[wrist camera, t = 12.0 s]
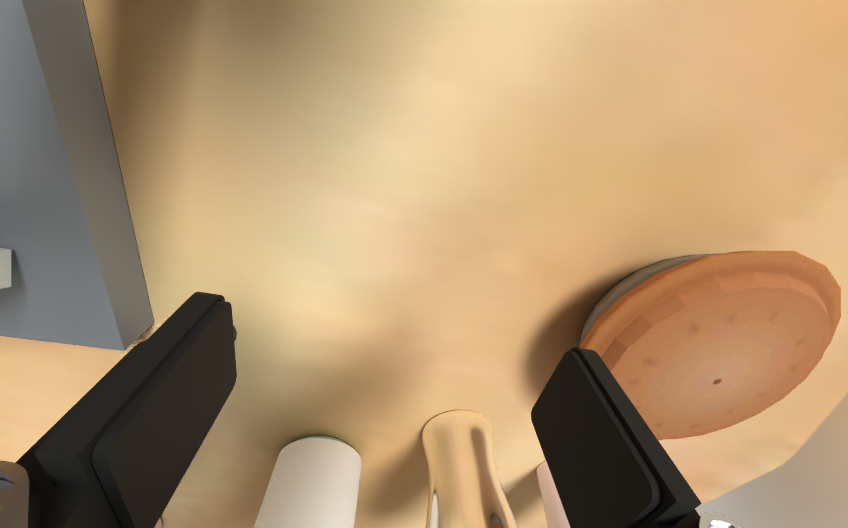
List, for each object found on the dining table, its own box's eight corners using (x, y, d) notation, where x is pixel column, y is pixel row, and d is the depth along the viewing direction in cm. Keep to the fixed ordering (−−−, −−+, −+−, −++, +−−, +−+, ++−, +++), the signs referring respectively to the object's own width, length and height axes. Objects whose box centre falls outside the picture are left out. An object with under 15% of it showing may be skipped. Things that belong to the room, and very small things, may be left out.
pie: (649, 184, 18) (726, 217, 14) (831, 270, 21) (939, 319, 17) (510, 371, 25) (532, 433, 20) (665, 414, 28) (712, 475, 24)
